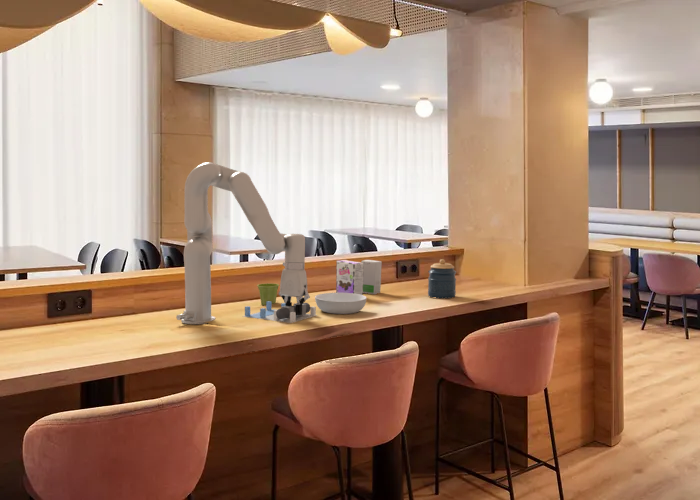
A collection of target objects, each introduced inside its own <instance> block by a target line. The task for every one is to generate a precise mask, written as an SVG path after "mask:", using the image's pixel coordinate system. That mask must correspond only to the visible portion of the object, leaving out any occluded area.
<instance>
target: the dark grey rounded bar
mask: <svg viewBox="0 0 700 500" xmlns="http://www.w3.org/2000/svg"><path fill="white" fill-rule="evenodd" d="M296 305H297V302H295V303H293V304H292V306H282V307H280V308H278V309H276V310H277V311H276V316H277V318H278V319H285V318H287V319H290V312H296ZM310 307H311V305H310V304H309V303H308V302H304V303H303V304H302V314H300V316H303V315H306V314H309V313H310Z"/></svg>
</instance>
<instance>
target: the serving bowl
mask: <svg viewBox="0 0 700 500" xmlns="http://www.w3.org/2000/svg"><path fill="white" fill-rule="evenodd" d="M314 300H315V305H316V307H317V308H318V309H319V310H321V311H322V312H324V313H328V314H334V315H347V314H348V315H349V314H355V313H359V312H360V311H362V309H364V307H365V305H366V303H367V296H366V295H360V294H354V293H336V292H324V293H320V294H317V295H315V296H314Z"/></svg>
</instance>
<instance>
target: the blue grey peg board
mask: <svg viewBox="0 0 700 500" xmlns="http://www.w3.org/2000/svg"><path fill="white" fill-rule="evenodd" d="M285 304H286V303H284V302H282V303H281V304H280V306H281V307H282V306H285ZM281 307H280V308H281ZM316 309H317V306H310V311H309V313H306V315H303V316H300V315H296V312H290V319H287V318H285V319H278V318H277V316H276V311H277V310H278V309H273V308H272V304H271V301H267V302H266V305H265V307H262V308H260V309H259V311H258V312H254V313H251V305H250V306H249V305H246V306H244V315H242V317H245V318H251V319H257V320H259V319H260V320H267V321H273V322H280V323H281V322H282V323H287V324H292V323H296V322H299V321H303V320H306V319H309V318H312V317H317V316H318V314H316V313H317V311H316Z"/></svg>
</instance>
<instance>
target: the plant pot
mask: <svg viewBox="0 0 700 500" xmlns="http://www.w3.org/2000/svg"><path fill="white" fill-rule="evenodd" d="M256 287H257V289H258V291H259V298H260V304H261V306H266V302H267V301H271V305H275V304H276V303H277V297H278V296H277V295H278V289H279V287H280V284H278V283H273V282H272V283H270V282H269V283H267V282H266V283H260V284H259V283H258V284H257V285H256Z"/></svg>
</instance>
